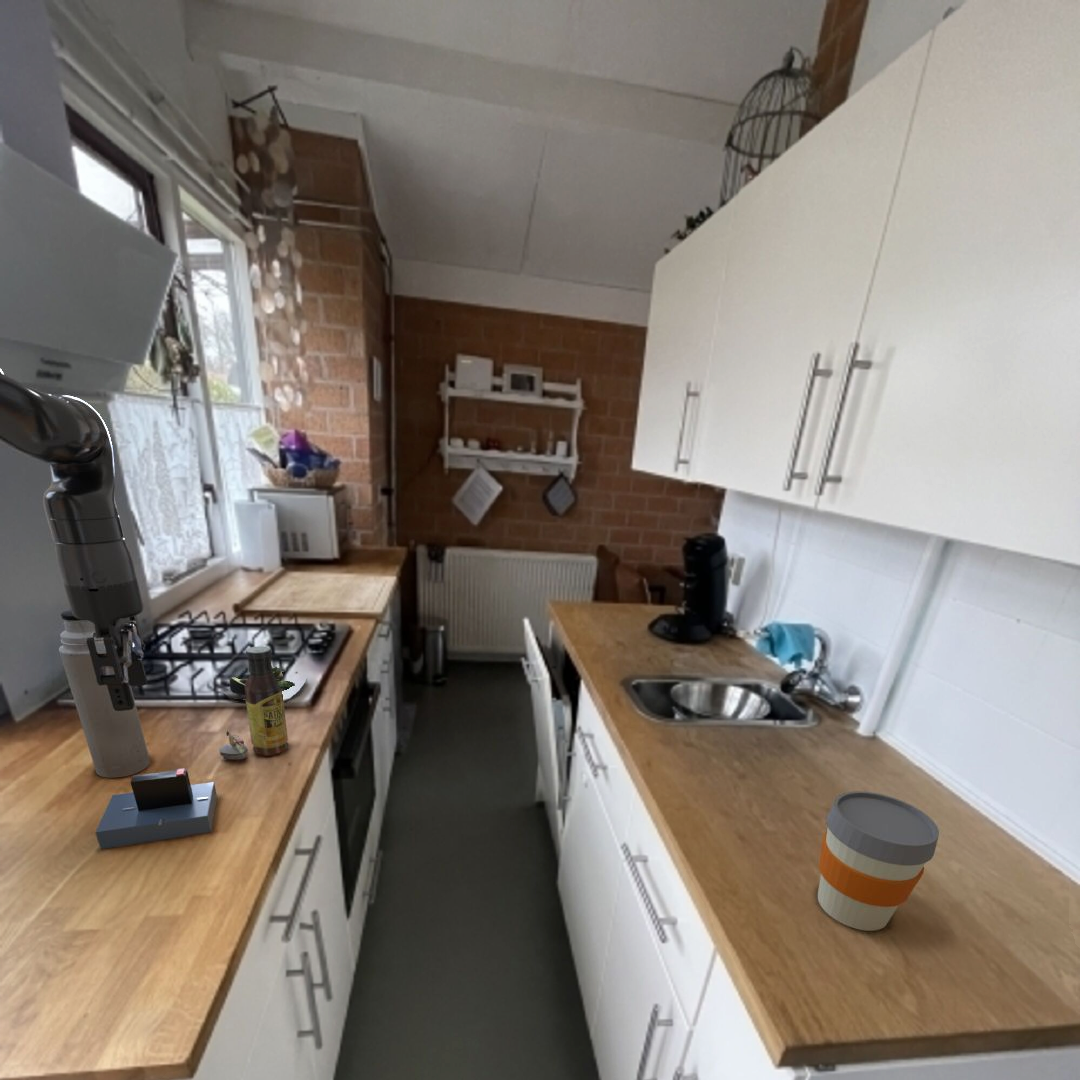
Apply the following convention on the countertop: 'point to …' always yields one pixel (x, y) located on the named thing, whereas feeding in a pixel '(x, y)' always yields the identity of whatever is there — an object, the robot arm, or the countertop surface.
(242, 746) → the figurine
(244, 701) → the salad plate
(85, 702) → the thermos bottle
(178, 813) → the rotary switch base
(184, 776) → the black and red block
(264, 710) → the sauce bottle
